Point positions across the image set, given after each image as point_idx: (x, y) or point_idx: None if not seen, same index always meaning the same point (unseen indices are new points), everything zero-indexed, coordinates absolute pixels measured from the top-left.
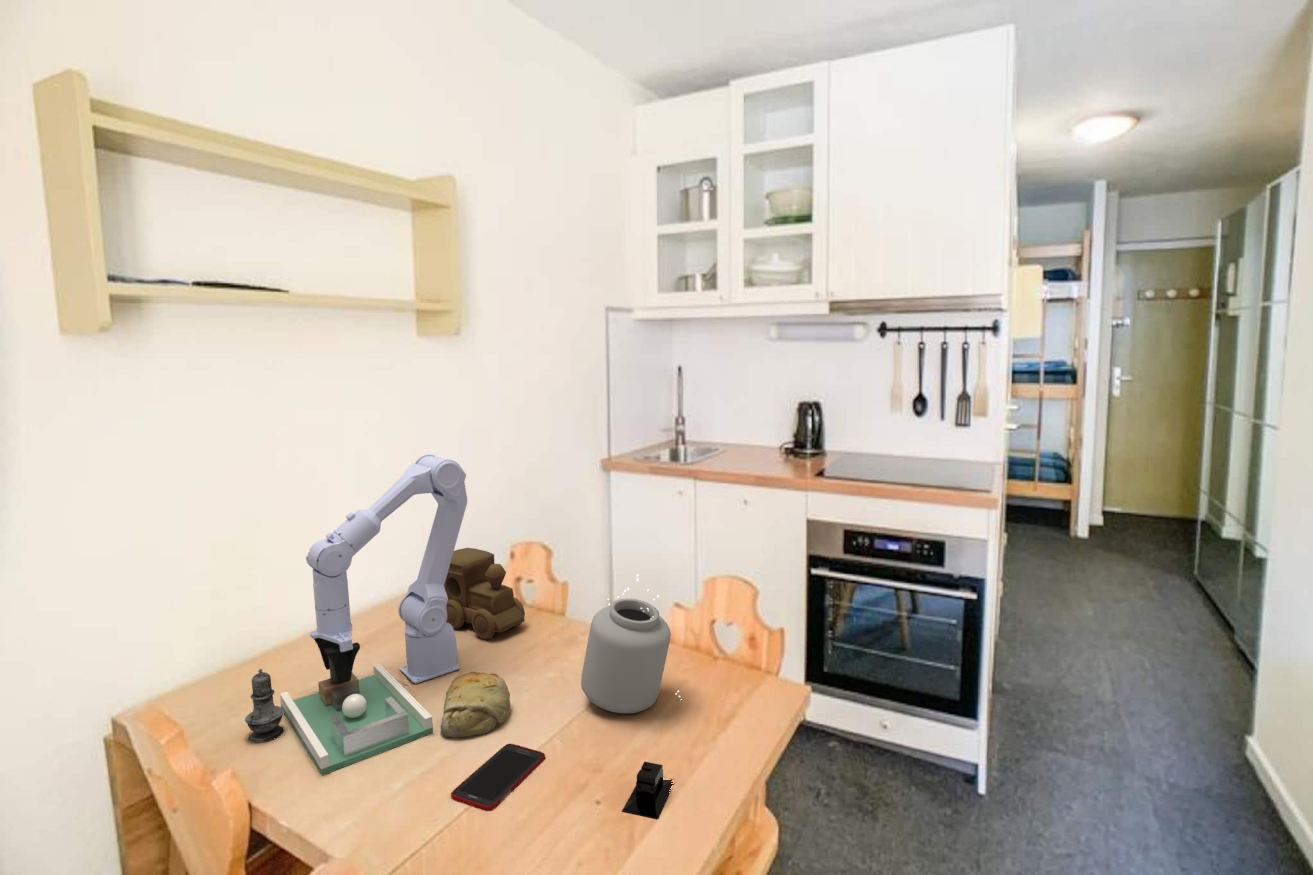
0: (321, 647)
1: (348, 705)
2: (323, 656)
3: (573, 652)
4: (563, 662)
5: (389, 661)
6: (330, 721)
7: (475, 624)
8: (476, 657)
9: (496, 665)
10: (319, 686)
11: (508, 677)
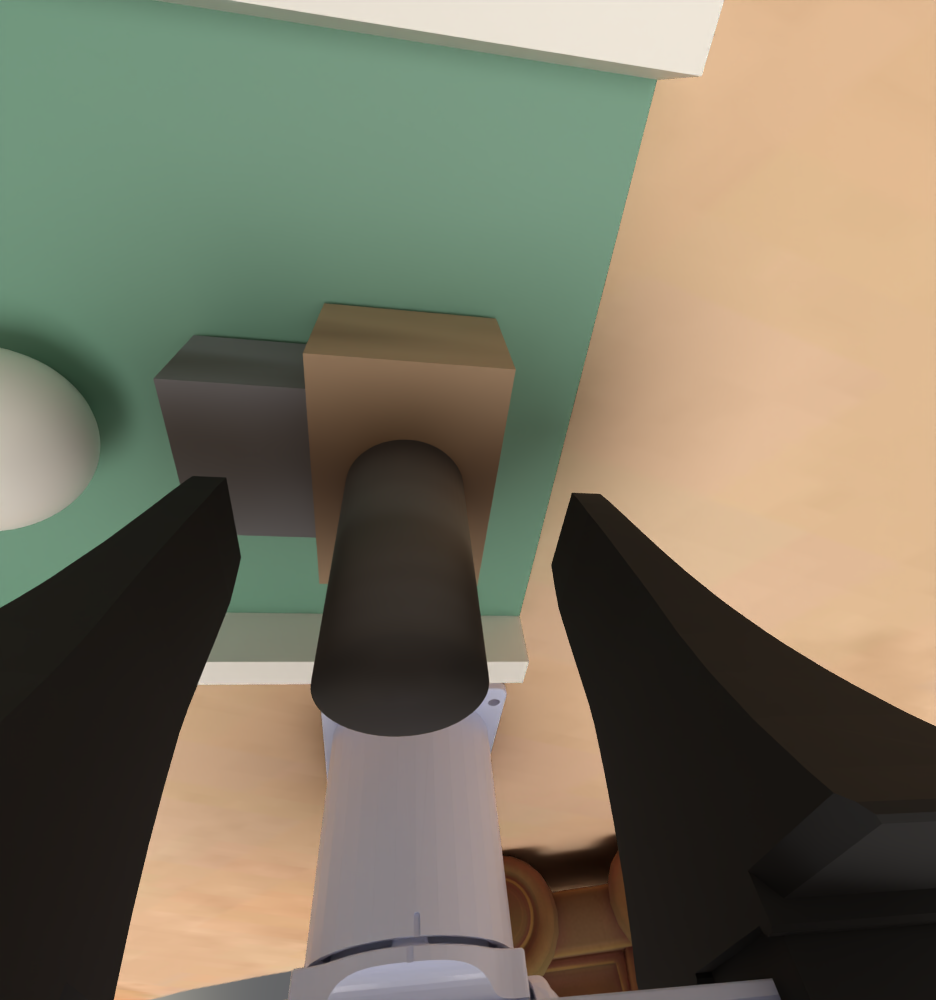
0: (684, 670)
1: None
2: (630, 577)
3: (224, 929)
4: (177, 912)
5: None
6: None
7: (529, 906)
8: None
9: (281, 839)
10: (476, 353)
11: (166, 840)
